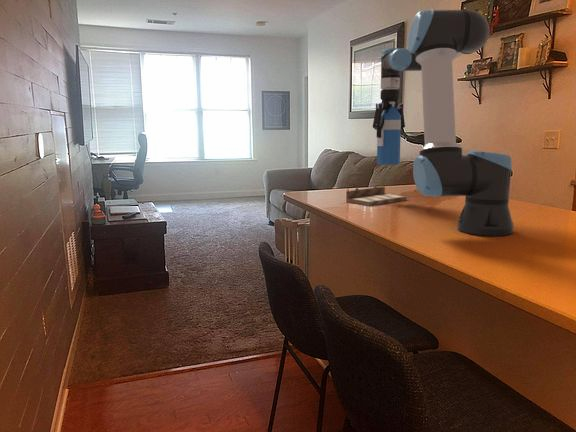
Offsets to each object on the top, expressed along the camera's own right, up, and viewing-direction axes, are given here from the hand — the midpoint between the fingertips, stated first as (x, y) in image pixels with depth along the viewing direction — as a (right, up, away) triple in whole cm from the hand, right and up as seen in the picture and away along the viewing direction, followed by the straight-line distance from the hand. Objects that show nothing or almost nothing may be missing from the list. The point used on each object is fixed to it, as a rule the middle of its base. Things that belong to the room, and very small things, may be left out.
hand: (388, 145), depth 187 cm
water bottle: (0, -8, +1) cm, 8 cm away
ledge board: (-5, -23, +2) cm, 23 cm away
